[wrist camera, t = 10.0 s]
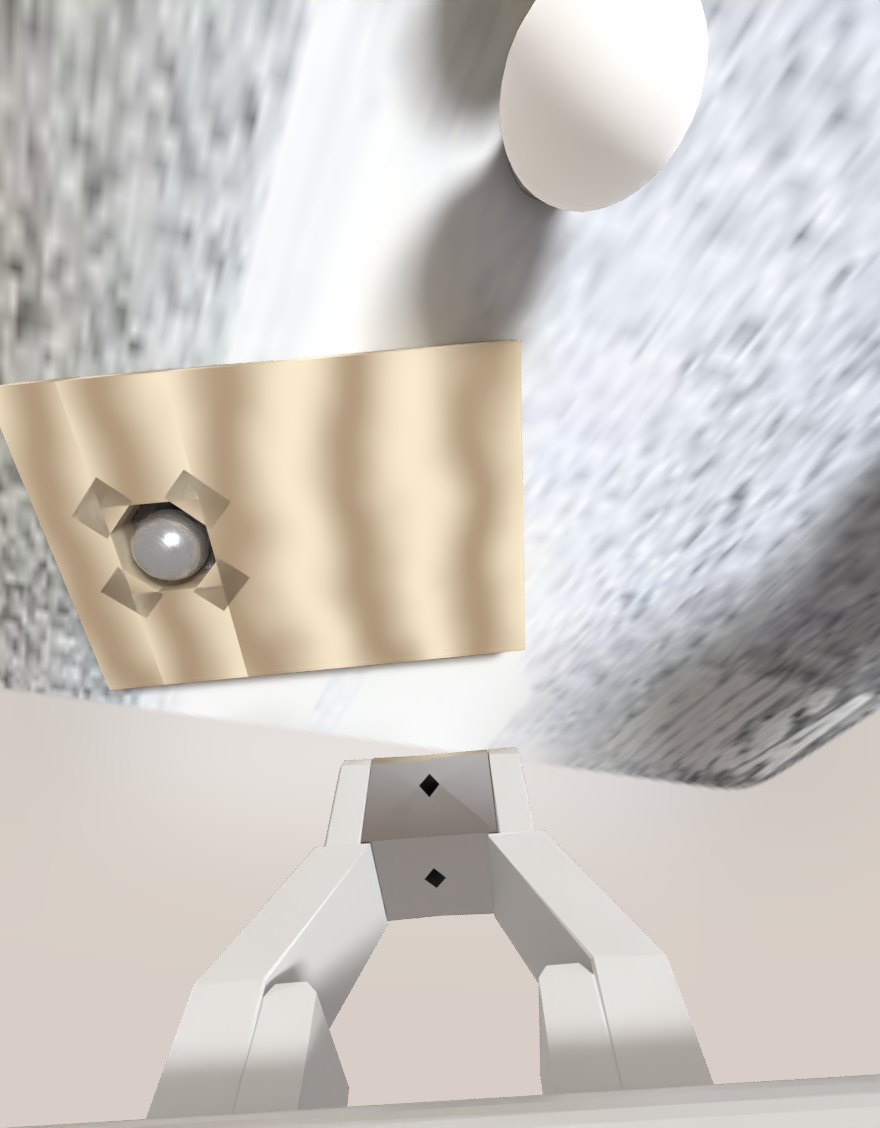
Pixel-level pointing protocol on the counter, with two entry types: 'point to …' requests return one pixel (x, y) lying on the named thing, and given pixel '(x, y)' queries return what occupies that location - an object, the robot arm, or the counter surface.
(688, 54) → the light bulb
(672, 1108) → the robot arm
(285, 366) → the beige flat wooden board
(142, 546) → the ball
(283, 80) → the counter surface
